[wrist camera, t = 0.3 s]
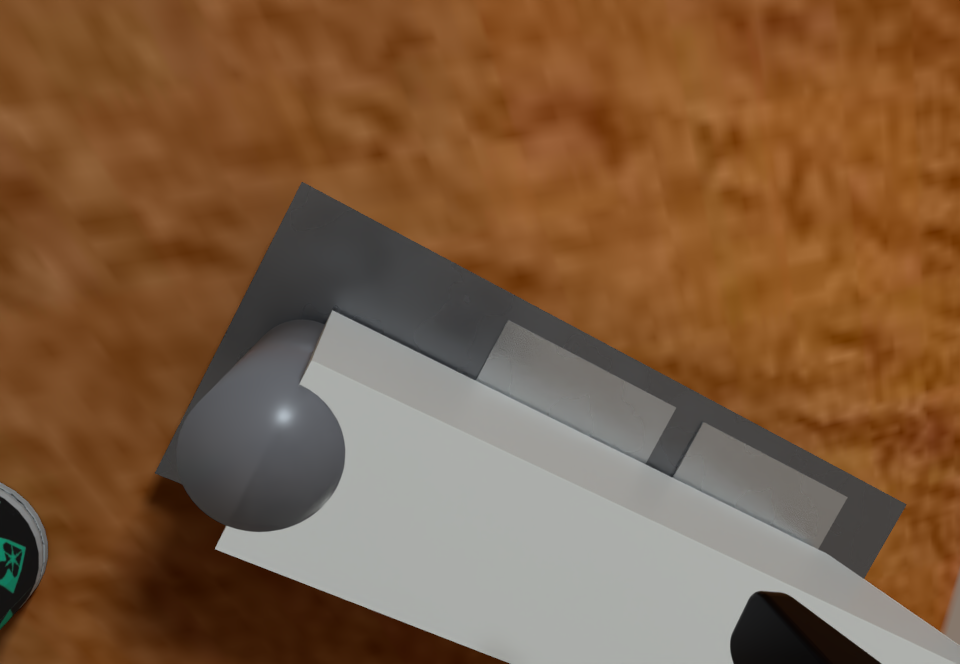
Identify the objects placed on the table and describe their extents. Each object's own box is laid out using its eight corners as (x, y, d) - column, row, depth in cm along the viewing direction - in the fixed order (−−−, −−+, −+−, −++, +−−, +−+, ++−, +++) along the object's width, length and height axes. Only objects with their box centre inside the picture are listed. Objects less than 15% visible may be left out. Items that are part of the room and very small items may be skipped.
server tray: (743, 683, 28) (782, 730, 25) (177, 447, 23) (152, 475, 20) (858, 480, 28) (910, 506, 25) (308, 187, 22) (301, 181, 19)
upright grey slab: (226, 405, 20) (135, 518, 12) (286, 287, 19) (233, 323, 12) (775, 647, 24) (967, 840, 17) (827, 554, 24) (1047, 706, 16)
